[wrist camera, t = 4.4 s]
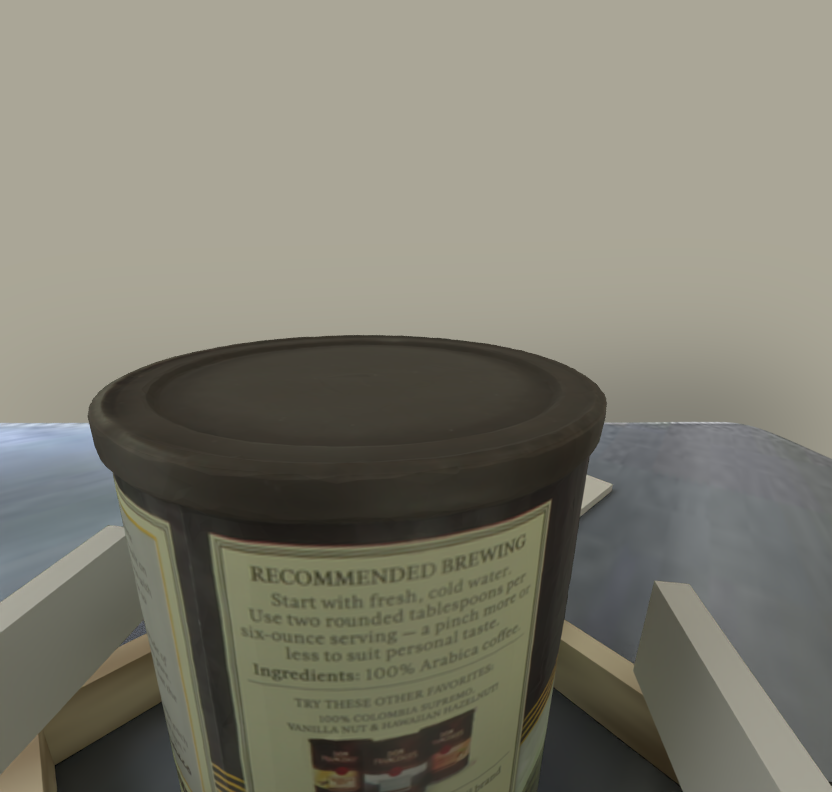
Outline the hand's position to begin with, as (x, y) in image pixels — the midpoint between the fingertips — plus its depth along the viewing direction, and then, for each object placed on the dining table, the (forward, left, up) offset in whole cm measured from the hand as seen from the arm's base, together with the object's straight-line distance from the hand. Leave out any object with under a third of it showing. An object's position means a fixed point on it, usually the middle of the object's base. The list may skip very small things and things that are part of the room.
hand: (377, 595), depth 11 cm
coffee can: (-1, 0, -9) cm, 9 cm away
